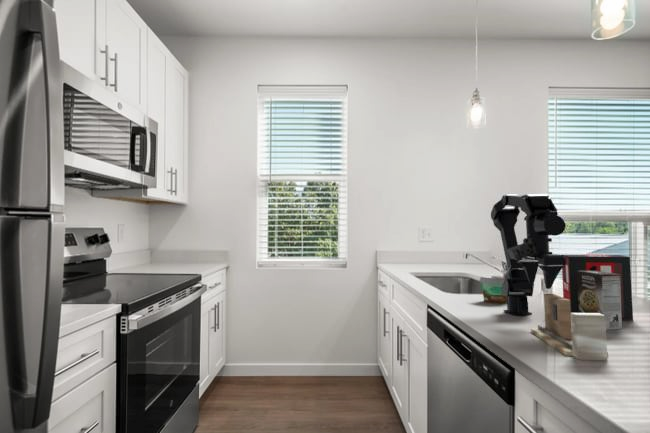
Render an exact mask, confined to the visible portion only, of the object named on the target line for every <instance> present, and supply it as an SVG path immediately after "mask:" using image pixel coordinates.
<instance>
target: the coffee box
mask: <svg viewBox="0 0 650 433" xmlns="http://www.w3.org/2000/svg"><path fill="white" fill-rule="evenodd" d="M577 277H578V300H579V313H600V314H603V315H605V320H606V331H607V330H622V329H623V320H622V315H621V286H620V274H615V273H608V272H601V271H587V270H583V271H577Z"/></svg>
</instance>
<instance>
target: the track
mask: <svg viewBox="0 0 650 433" xmlns="http://www.w3.org/2000/svg"><path fill="white" fill-rule="evenodd" d="M571 331H572V339H563V338H562V337H560V336H558V335H557V334H555V333H553V332H552V331H550V330H548V329H547V328H545V326H543V325H542V324H537V328H530V332H531V333H532V334H534V335H535V336H537V337H538V338H539V339H541V340H542V341H544V342H545V343H547V344H548V345H550V346H551V347H552V348H554V349H555V350H557V352H560V353H561V354H563V355H564V356H568V357H574V358H575V359H576V360H578V359H580V360H582V361H584V360H586V361H608V358H609V352H608V346H607V345H608V344H607V342H608V341H607V330H606V320H605V315H603V314H600V313H571ZM580 360H579V361H580Z"/></svg>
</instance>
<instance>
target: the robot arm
mask: <svg viewBox="0 0 650 433" xmlns="http://www.w3.org/2000/svg"><path fill="white" fill-rule="evenodd" d="M508 206H509V207H508ZM521 211H522V212H523V213H525V214H526V216H524V218H523V220H524V221H525V224H526V226H525V227H526V228H525V229H526V230H525V231H526V237H524V238H523V240H522V243H520V244H518V240H517V235H516V229H515V226H516V224H517V222H518V216H519V215H520V212H521ZM558 214H559V213H558V208H557V207H556V206H555V204H554V202H553V200H552V198H551V197H550V195H549V194H548V193H538V194H537V193H533V194H532V193H531V194H524V195H522V194H520V195H519V194H517V193H516V194H515V193H512V194H511V193H509V194H502V197H501V199H500V200H498V201H497V202H496V203H495V204H493V207H492V209H491V211H490V218H491V220H492V223H493V225H494V226H495V228H496V229H497V230H498V231H499V232H500V236H501V241H502V242H501V243H502V247H503V252H504V257H505V261H506V266H507V270H506V272H505V274H504V276H503V277H504V278H505V280H504V283H503V285H502V287H501V292H502V295H505V296H507V303H506V307H507V308H506V309H503V312H504V313H508V314H511V315H514V316H525V315H533V313H532V312H531V311H529V301H528V297H533V294H534V286H535V281H536V277H537V272H538V270H539V269H538V268H540V270H541V271H542V274H543V280H544V285H545V288H546V289H547V290H550V289H551V288H552V287H553V285H554V282H555V281H556V279H557V277H558V276H559V274H560V272H561V271H562V268H564V266H562V265H567V258H566V257H565V256H564V255H565V254H556V253H555V254H553V251H550V245H549V244H550V243H551V242H552V241H553V239H552V238H549V236H560V235H561V234H563V233H564V232H565V229H566V226H567V225H566V222H565V220H564V219H563V218H562V217H561V216H559V215H558Z"/></svg>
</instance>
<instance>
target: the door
mask: <svg viewBox="0 0 650 433" xmlns="http://www.w3.org/2000/svg"><path fill="white" fill-rule="evenodd" d="M543 303H544V306H543V307H544V325H545V326H544V327H545V328H547V329H548V330H550V331H552V332H553V333H555V334H557V335H558V336H560V337H562V338H563V339H572V330H571V309H570V300H568V299H566V298H563V296H561V295H558V294H555V293H543Z"/></svg>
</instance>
